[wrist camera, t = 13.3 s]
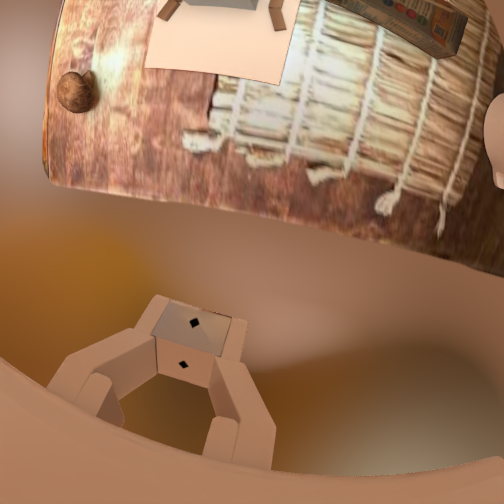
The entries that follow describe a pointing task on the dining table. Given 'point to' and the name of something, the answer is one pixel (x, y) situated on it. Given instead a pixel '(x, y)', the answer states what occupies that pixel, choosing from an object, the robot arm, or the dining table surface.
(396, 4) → the beverage carton
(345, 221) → the dining table surface
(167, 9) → the dock fence
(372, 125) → the dining table surface
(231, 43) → the board
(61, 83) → the mushroom
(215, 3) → the tee block
